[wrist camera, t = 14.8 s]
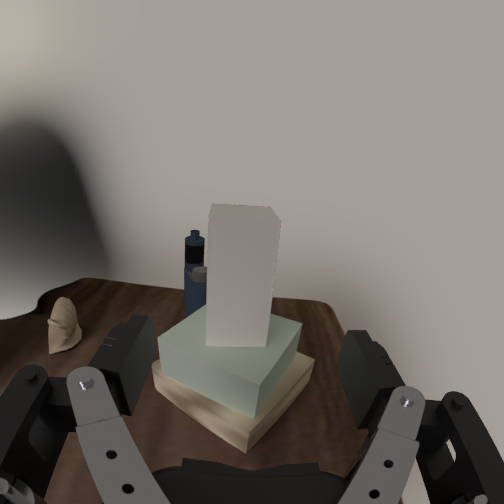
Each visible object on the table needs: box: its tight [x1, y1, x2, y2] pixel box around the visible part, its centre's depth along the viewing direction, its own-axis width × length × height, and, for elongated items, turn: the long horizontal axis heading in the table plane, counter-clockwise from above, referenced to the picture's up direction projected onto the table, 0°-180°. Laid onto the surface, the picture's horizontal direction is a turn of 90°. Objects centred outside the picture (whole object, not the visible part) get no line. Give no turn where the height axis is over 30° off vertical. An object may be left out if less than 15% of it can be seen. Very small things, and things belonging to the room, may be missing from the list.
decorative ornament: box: [47, 297, 82, 354], centre depth 28 cm, size 4×8×5 cm, turn 21°
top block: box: [158, 305, 302, 419], centre depth 24 cm, size 9×9×4 cm
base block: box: [152, 352, 315, 453], centre depth 26 cm, size 11×11×4 cm
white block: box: [206, 204, 281, 347], centre depth 22 cm, size 5×5×10 cm
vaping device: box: [184, 230, 207, 318], centre depth 35 cm, size 3×5×12 cm, turn 28°
